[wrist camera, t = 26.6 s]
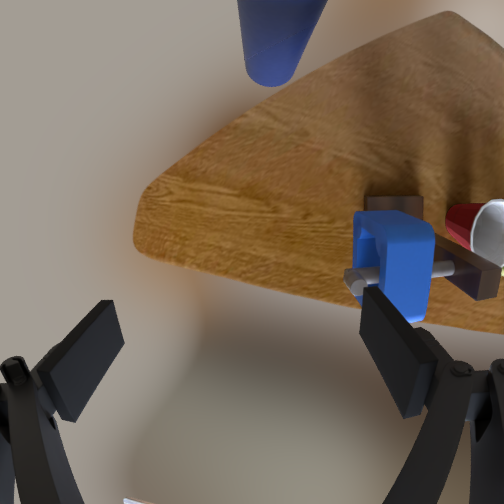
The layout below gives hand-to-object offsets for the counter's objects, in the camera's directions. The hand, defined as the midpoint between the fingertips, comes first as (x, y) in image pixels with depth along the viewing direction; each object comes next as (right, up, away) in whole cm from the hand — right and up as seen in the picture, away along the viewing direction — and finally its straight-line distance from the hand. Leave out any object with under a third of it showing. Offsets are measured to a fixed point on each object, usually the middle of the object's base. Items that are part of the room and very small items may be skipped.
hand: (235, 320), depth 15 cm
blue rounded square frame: (+15, +4, +20) cm, 25 cm away
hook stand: (+19, +7, +31) cm, 37 cm away
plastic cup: (+36, +9, +30) cm, 48 cm away
